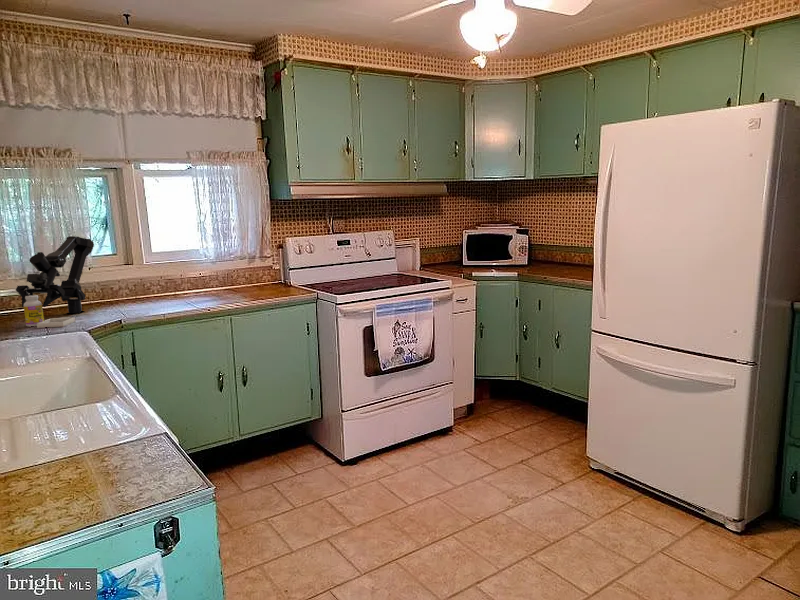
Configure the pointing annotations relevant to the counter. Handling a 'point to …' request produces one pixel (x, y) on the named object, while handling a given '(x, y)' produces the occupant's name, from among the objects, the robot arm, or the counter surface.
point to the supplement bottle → (33, 310)
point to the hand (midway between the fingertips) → (33, 306)
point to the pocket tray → (55, 322)
